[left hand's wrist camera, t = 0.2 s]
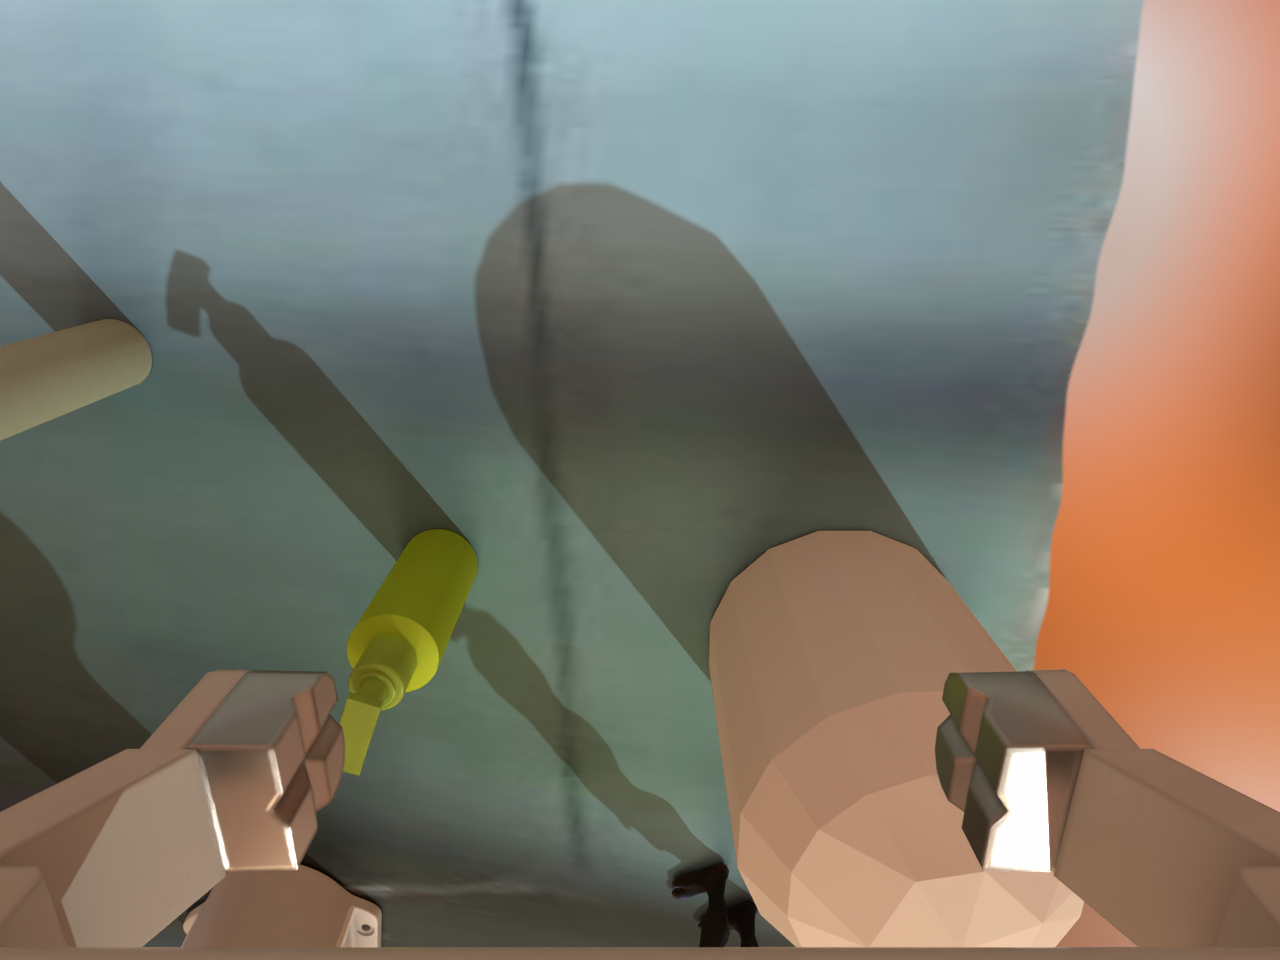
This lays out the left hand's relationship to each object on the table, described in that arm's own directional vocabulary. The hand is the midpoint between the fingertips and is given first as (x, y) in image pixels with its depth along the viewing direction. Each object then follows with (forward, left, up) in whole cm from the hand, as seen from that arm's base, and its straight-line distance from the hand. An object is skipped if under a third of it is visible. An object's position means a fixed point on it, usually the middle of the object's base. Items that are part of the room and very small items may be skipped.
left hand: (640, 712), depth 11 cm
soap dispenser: (+22, -16, -48) cm, 55 cm away
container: (+29, +16, -48) cm, 58 cm away
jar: (+5, -38, -48) cm, 61 cm away
